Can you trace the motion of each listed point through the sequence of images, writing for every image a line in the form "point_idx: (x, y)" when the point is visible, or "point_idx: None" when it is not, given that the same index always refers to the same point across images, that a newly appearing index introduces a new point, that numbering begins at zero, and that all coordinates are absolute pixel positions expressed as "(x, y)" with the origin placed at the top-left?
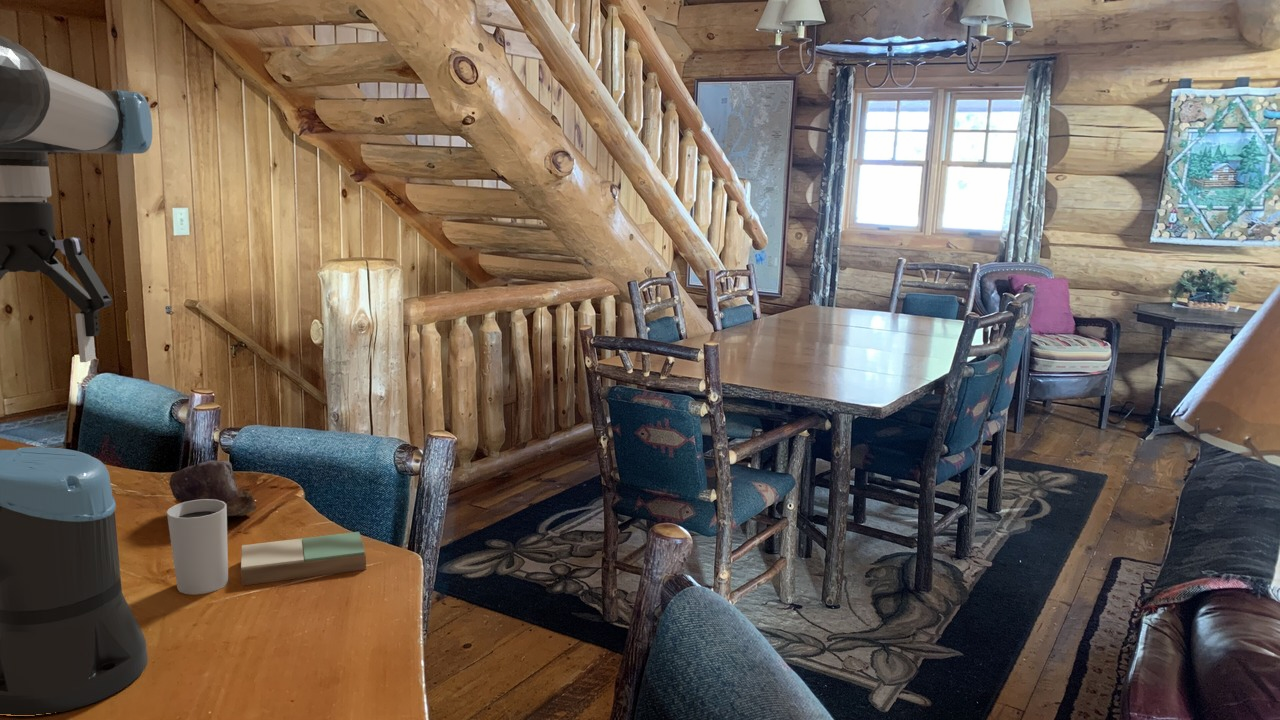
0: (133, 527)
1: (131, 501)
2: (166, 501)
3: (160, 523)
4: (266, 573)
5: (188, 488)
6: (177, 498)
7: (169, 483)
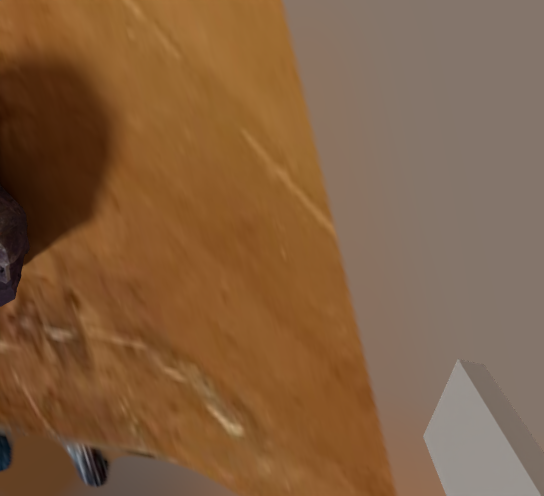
0: (116, 178)
1: (159, 319)
2: (94, 304)
3: (71, 187)
4: None
5: None
6: (15, 202)
7: (14, 216)
